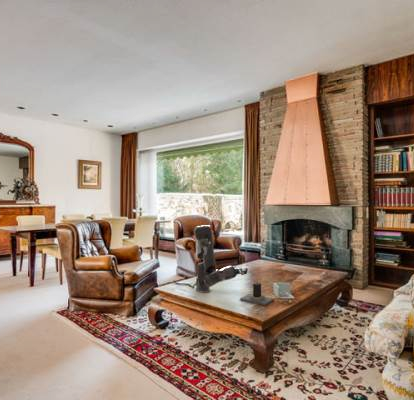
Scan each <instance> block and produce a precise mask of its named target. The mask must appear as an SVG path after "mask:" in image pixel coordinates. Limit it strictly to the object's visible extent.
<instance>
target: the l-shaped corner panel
mask: <svg viewBox="0 0 414 400" xmlns="http://www.w3.org/2000/svg"><path fill="white" fill-rule="evenodd" d="M273 294H274V295H275V296H276V297H277V298H278V299H296V297H295V296H293V294H292V293H291V283H290V282H273Z"/></svg>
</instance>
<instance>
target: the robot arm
mask: <svg viewBox="0 0 414 400" xmlns="http://www.w3.org/2000/svg"><path fill="white" fill-rule="evenodd" d="M193 235H194V239H195V257H196V259H198V260H203V261H202V262H199V263H197V277H196V281H195V283H194V284H193V285H191V284H189V283H185V282H184V283H181V282H180V283H179V282H177V281H176V280H173V281H172V282H173V283H175V284H176V285H186V286H189V287H191V288H195V287H196V288H195V289H196V291H197V292H200V293H208V292H210V288H211V287H213V286H215V285H217V284H218V283H222V282H225V281H229V280H232V279H235V278H236V277H237V276H238V275H241V276H245V275H247V274H248V272H249V269H248V267H245V268H241V267H239V268H237V266H236V265H228V266H226V267H223V268H221V269H216V268H217V262H216V257H215V248H214V237H213V231H212V227H211V225H209V224H205V225H198V226H196V227H194V230H193ZM171 323H173V313H171V312H170V324H171Z"/></svg>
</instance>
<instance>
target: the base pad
mask: <svg viewBox="0 0 414 400" xmlns="http://www.w3.org/2000/svg"><path fill="white" fill-rule="evenodd" d="M240 301H242V302H245V303H250V304H254V305H258V306H262V307H266V306H268V305H269V304H271V303H273V302H274V301H275V298H272V297H269V296H265V294H261V296H260V297H259V298H257V297H253V293H247V294H246V295H243V296H241V297H240Z"/></svg>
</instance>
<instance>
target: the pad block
mask: <svg viewBox="0 0 414 400" xmlns="http://www.w3.org/2000/svg"><path fill="white" fill-rule="evenodd" d="M252 294H253V297H257V298H259V297H260V296H261V295H262V283H260V282H255V283H253V284H252Z"/></svg>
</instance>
